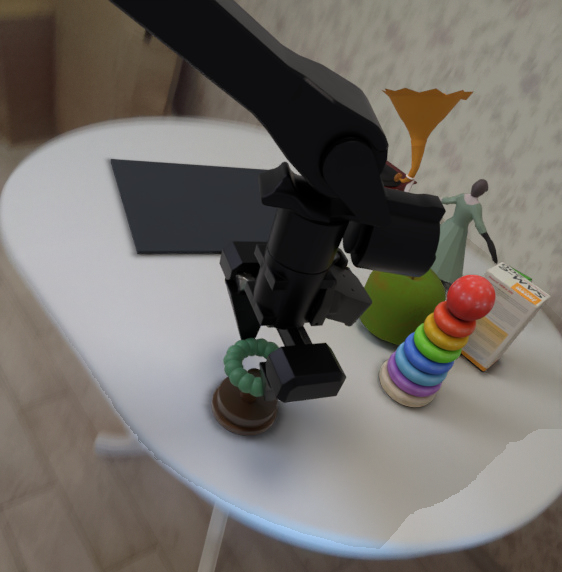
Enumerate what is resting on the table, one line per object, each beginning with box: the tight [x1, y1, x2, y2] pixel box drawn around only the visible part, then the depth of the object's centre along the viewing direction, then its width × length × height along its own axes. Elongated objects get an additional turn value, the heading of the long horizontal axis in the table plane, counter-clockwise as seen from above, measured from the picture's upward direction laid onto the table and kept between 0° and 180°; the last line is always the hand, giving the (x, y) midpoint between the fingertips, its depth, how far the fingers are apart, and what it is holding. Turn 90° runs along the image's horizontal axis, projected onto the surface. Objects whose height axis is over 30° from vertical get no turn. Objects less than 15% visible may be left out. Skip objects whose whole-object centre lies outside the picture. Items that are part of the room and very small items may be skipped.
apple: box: [359, 268, 447, 346], centre depth 72 cm, size 11×11×11 cm
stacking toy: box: [378, 274, 496, 408], centre depth 62 cm, size 8×8×19 cm
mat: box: [110, 158, 277, 255], centre depth 85 cm, size 32×24×1 cm
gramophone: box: [380, 87, 474, 193], centre depth 88 cm, size 20×20×25 cm
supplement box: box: [460, 261, 552, 372], centre depth 73 cm, size 8×5×13 cm, turn 43°
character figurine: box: [431, 178, 499, 283], centre depth 81 cm, size 16×8×18 cm, turn 42°
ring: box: [222, 337, 280, 397], centre depth 54 cm, size 8×8×2 cm
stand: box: [210, 367, 279, 436], centre depth 57 cm, size 8×8×6 cm
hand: (257, 371), depth 54 cm, fingers closed on ring, 7 cm apart
